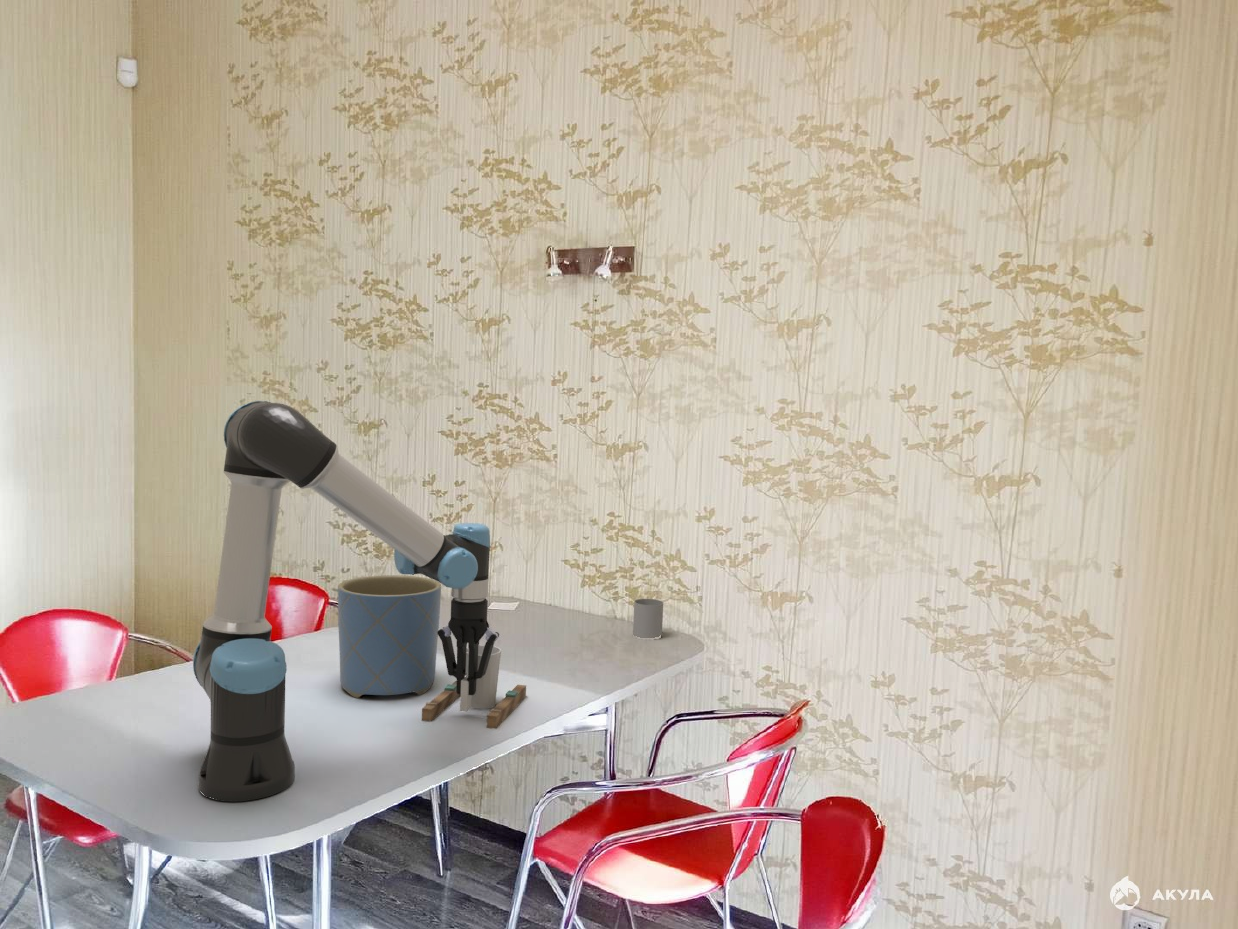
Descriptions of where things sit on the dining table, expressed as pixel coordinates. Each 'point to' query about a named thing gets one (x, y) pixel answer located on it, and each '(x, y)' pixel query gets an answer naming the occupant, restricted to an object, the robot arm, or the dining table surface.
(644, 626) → the cup
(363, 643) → the planter
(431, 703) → the channel
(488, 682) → the cup
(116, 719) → the dining table surface
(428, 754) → the dining table surface
